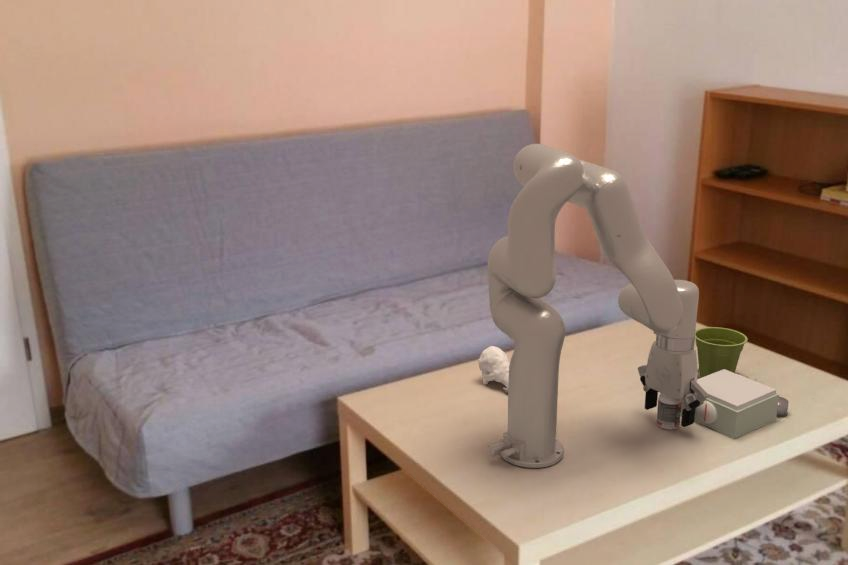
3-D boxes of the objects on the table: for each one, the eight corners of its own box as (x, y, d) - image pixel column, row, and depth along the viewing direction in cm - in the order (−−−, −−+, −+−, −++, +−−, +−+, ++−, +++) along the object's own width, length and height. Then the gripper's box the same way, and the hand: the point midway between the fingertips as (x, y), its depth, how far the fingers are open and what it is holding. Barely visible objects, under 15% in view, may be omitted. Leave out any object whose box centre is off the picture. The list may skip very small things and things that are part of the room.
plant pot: (753, 383, 204) (758, 337, 201) (720, 396, 198) (725, 349, 195) (711, 366, 214) (715, 322, 210) (678, 378, 207) (682, 333, 204)
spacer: (778, 419, 187) (780, 407, 187) (760, 412, 191) (762, 399, 190) (791, 414, 190) (792, 401, 189) (773, 406, 193) (774, 394, 192)
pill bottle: (680, 431, 183) (683, 394, 180) (656, 429, 184) (659, 392, 181) (678, 420, 187) (682, 384, 185) (655, 418, 188) (658, 382, 186)
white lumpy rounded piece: (498, 340, 208) (531, 361, 199) (495, 372, 211) (528, 394, 202) (476, 346, 204) (509, 368, 195) (474, 378, 208) (506, 401, 199)
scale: (732, 439, 179) (735, 408, 177) (677, 414, 190) (679, 384, 188) (775, 420, 187) (779, 389, 185) (720, 396, 198) (723, 367, 196)
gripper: (630, 332, 184) (625, 406, 190) (697, 358, 171) (690, 437, 176) (654, 324, 188) (648, 397, 194) (722, 349, 175) (714, 427, 180)
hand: (668, 416), depth 185 cm, fingers open, 9 cm apart
